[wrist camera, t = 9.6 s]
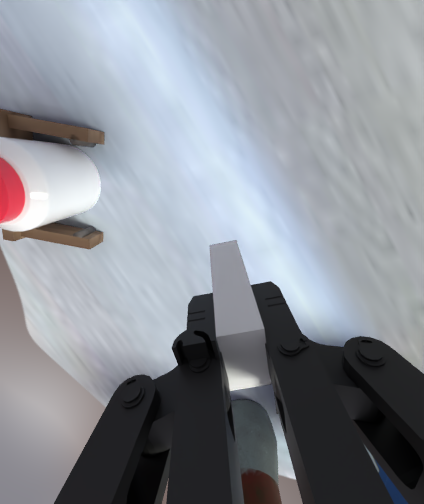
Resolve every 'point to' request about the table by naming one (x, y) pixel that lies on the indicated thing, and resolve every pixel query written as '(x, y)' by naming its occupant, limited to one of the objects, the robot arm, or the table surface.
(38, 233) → the dock
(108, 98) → the table surface
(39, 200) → the pill bottle
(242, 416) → the grey-green bottle
